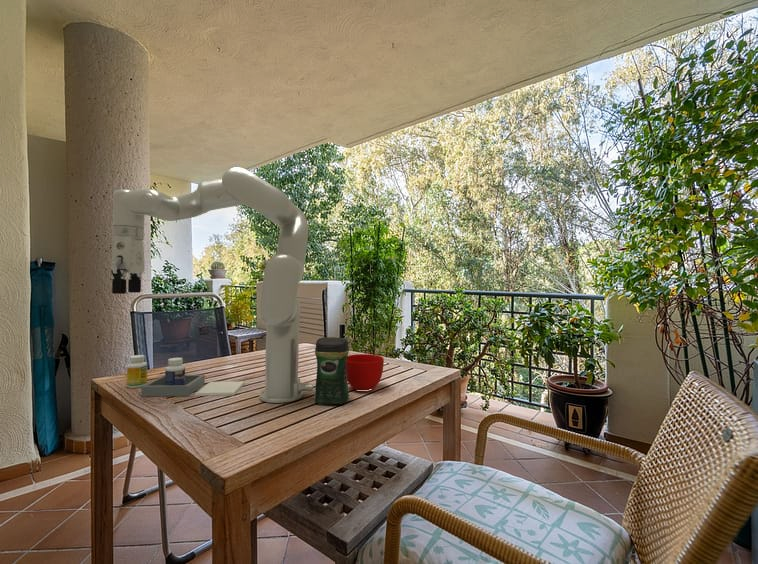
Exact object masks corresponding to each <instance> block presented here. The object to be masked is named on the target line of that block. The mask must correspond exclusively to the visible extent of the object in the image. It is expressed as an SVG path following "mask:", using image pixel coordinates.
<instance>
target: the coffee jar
mask: <svg viewBox="0 0 758 564" xmlns="http://www.w3.org/2000/svg"><path fill="white" fill-rule="evenodd" d="M314 349H315V350H314V355H315V357H316V379H315V387H314V402H315V403H316V404H317V403H318V405H323V404H341V405H344V404H346V403H347V402H348V400H349V386H348V384H349V383H348V381H347V371H346V360H347V356H349V354H350V353H349V352H350V349H349V341H348V339H347V338H346V337H334V336H332V337H331V336H330V337H320V338H318V339H317V340H316V342H315V347H314ZM345 402H346V403H345ZM343 403H344V404H343Z"/></svg>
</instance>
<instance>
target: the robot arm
mask: <svg viewBox="0 0 758 564" xmlns="http://www.w3.org/2000/svg"><path fill="white" fill-rule="evenodd" d="M112 195H113V196H112V227H111V229H112V233H111V234H112V236H111V237H112V239H113V244H112V252H111V253H112V254H111V262H110V267H111V270H110V273H111V280H112V281H111V283H112V285H111V287H112V288H111V293H112V295H113V294H114V295H117V294H118V295H119V294H120V295H123V294H127V292H128V293H141V292H142V274H143V273H144V272H145V248H144V242H143V241H145V216H149V217H152V218H156V219H159V220H162V221H164V222H165V221H167V222H173V221H180V220H186V219H191V218H197V217H199V216H202V215H204V214H208V213H209V212H211V211H216V210H222V209H228V208H232V207H238V206H247V207H249V208H250V209H252V210H254V211H255V212H257V213H258V214H260V215H261V216H263V217H265V218H266V219H267V220H269V221H270V222H272V223H273V224H275V225H277V226H278V227H279V231H280V232H279V236H278V239H277V249H276V252H275V254H274V255H273V256H272V257H270V259H269V260H268V261H267V263H266V265H265V268H264V272H263V278H262V285H261V292H260V299H259V303H258V304H259V306H258V310H259V315H260V317H261V319H262V320H263V321H264V322H265V323H266V332H265V334H266V335H265V369H264V372H265V377H264V378H265V379H264V380H265V381H264V389H263V391H261V392H260V393H259V397H258V398H259V399H260V400H261V401H263V402H265V403H269V404H272V403H273V404H282V403H284V402H285V403H290V402H291V403H292V402H294V401H297V400H299V399H301V398H302V397H303V396H304V392H313V389H314V385H313V384H310V383H309V382H307V383H302V382H301V378H299V347H300V345H299V344H300V323H301V322H300V321H301V303H300V300H299V298H298V297H297V296H298V295H297V294H298V289H299V283H300V282H301V281H302V279H303V278H304V274H305V264H306V263H305V262H306V258H307V257H306V255H307V246H308V238H309V223H308V220H307V218H306V215H305V214H304V213H303V211H302V210H301V209H300V208H299V207H298V206H297V205H296V204H294V202H292V200H291V199H290V198H289V197H288V196H287V194H286V193H285V192H284V191H282V190H281V189H279V188H278V187H276V186H274V185H273V184H271V183H269V182H268V181H266V180H264V179H263V178H261V177H260V176H258V175H256V174H255V173H253V172H252V171H250V170H249V169H247V168H244V167H241V166H234V167H230V168H228V169H227V170H225V172H223V174H222V177H220V178H215V179H209V180H208V179H207V180H202V181H200V182H199V183H198V185H197V188H196V189H195V190H194V191H192V192H189V193H186V194H181V195H175V196H170V195H168V194H165V193H163V192H161V191H160V190H157V189H155V188H154V189H153V188H145V189H138V190H137V189H136V190H133V189H132V190H131V189H122V188H121V189H116V190H115V191H114V192H113V194H112ZM127 274H128V277H129V279H128V280H127V279H126V277H127ZM127 283H128V284H127Z"/></svg>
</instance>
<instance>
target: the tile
mask: <svg viewBox="0 0 758 564" xmlns="http://www.w3.org/2000/svg"><path fill="white" fill-rule="evenodd" d="M245 384H246V382H245V381H209V382H208V383H207V384H205V385H203V387H201V388H199V390H198V391H195V392H194V393H195V394H194V395H195V396H198V397H200V396H202V397H203V396H205V397H206V396H209V397H210V396H211V397H212V396H235V394H236V393H237V392H238V391H239V390H240V389H241V388H242V387H243V386H245Z"/></svg>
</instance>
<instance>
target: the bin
mask: <svg viewBox="0 0 758 564" xmlns="http://www.w3.org/2000/svg"><path fill="white" fill-rule="evenodd" d="M205 385H206V375H205V374H185V385H165V374H162V375H161V376H159V377H158V378H155V379H154V380H152V381H149V382H147V384H146V385H144V386H142V387H140V388H141V389H140V390H141V394H140V395H141V396H140V397H141V398H147V397H146V396H157V398H158V397H159V396H160V397H161V396H175V397H189V396H190V395H191V394H193V393H195V392H197V390H198V389H201V388H202V386H205ZM161 398H162V397H161Z"/></svg>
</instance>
